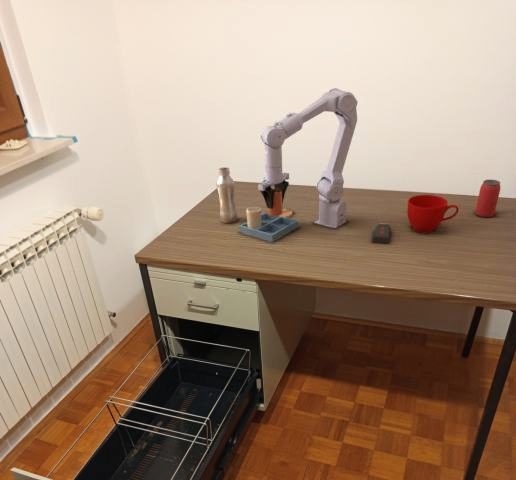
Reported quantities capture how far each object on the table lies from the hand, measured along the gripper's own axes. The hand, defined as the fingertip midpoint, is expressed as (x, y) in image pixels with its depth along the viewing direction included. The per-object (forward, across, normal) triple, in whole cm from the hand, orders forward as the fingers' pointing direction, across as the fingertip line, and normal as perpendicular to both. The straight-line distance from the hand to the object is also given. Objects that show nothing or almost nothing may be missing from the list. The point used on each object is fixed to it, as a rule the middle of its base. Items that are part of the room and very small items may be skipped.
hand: (275, 205), depth 171 cm
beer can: (+11, -55, +55) cm, 78 cm away
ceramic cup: (+11, -32, +44) cm, 55 cm away
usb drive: (+11, -18, +33) cm, 39 cm away
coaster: (+10, -15, -9) cm, 21 cm away
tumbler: (+3, 0, 0) cm, 3 cm away
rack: (+10, 0, -4) cm, 11 cm away
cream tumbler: (+10, +3, -7) cm, 13 cm away
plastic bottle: (+10, +2, -22) cm, 24 cm away
